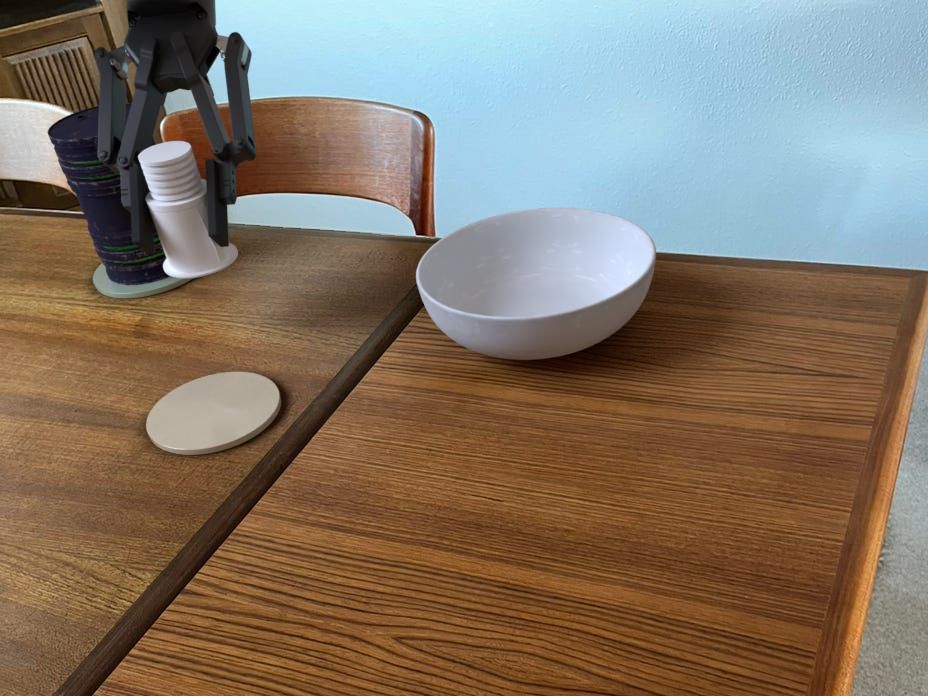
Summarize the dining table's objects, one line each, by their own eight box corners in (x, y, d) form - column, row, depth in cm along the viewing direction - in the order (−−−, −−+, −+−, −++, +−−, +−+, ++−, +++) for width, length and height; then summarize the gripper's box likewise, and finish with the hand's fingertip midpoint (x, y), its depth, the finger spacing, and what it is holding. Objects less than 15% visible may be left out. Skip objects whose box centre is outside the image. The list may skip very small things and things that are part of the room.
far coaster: (76, 301, 105) (73, 296, 104) (120, 246, 114) (118, 241, 113) (187, 295, 103) (185, 289, 102) (224, 239, 111) (222, 234, 111)
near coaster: (128, 457, 83) (125, 451, 82) (175, 379, 91) (172, 373, 90) (260, 453, 81) (258, 447, 80) (296, 374, 89) (294, 368, 88)
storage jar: (211, 255, 107) (163, 110, 96) (138, 294, 103) (79, 146, 92) (161, 236, 113) (110, 97, 102) (89, 272, 108) (28, 131, 97)
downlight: (147, 269, 91) (105, 158, 84) (206, 238, 94) (170, 129, 87) (197, 289, 87) (157, 175, 80) (257, 257, 90) (224, 144, 83)
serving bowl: (699, 343, 84) (703, 267, 79) (479, 420, 80) (468, 345, 75) (589, 253, 98) (586, 184, 93) (397, 315, 94) (383, 246, 89)
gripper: (290, -9, 87) (299, 251, 88) (89, 15, 90) (100, 267, 90) (260, -66, 80) (271, 218, 80) (42, -38, 82) (55, 237, 83)
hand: (180, 243), depth 85 cm, fingers closed on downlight, 6 cm apart
